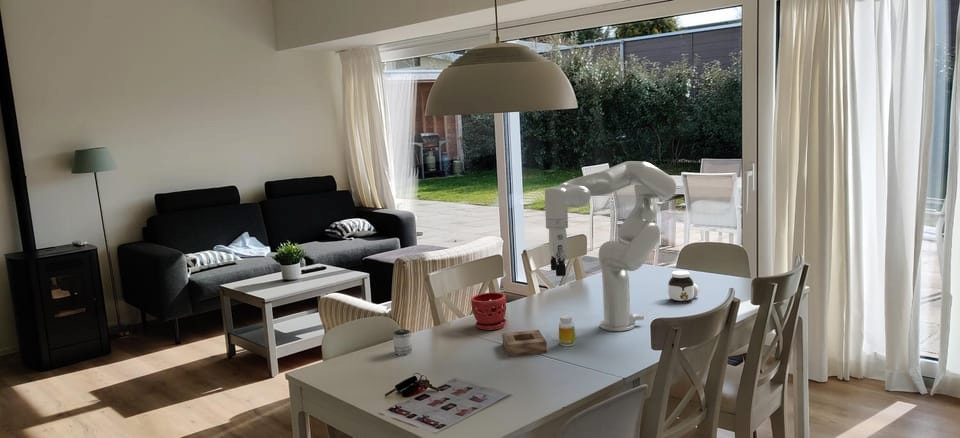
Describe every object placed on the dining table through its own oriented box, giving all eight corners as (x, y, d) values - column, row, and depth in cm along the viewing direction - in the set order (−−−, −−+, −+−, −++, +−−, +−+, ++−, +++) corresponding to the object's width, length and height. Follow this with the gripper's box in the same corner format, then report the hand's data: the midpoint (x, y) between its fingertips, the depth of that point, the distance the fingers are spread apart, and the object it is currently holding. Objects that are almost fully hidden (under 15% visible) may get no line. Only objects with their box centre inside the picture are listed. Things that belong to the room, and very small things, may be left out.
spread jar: (667, 303, 289) (667, 274, 288) (669, 295, 300) (668, 268, 298) (699, 303, 285) (698, 274, 284) (699, 296, 296) (699, 268, 294)
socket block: (539, 340, 253) (538, 329, 253) (547, 352, 240) (546, 341, 240) (502, 344, 252) (502, 333, 251) (508, 356, 239) (507, 345, 238)
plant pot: (493, 319, 282) (491, 289, 281) (514, 326, 272) (512, 295, 270) (466, 327, 275) (464, 296, 273) (486, 334, 264) (484, 302, 262)
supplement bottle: (574, 346, 245) (573, 319, 243) (558, 346, 246) (557, 319, 244) (575, 341, 250) (574, 314, 248) (560, 341, 251) (558, 314, 249)
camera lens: (397, 357, 246) (395, 334, 245) (392, 351, 252) (390, 330, 251) (415, 353, 248) (413, 331, 247) (409, 348, 254) (408, 327, 253)
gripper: (572, 226, 236) (574, 277, 239) (562, 219, 254) (564, 267, 256) (550, 227, 236) (551, 278, 238) (541, 220, 253) (543, 268, 255)
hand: (558, 272), depth 247 cm, fingers open, 9 cm apart
